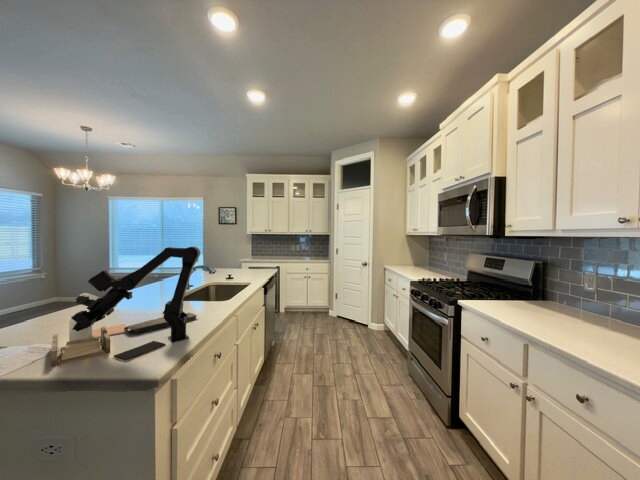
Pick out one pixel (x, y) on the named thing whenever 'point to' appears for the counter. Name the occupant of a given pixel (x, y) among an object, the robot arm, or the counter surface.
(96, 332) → the tile
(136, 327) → the stone slab
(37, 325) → the counter surface
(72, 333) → the can
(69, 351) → the rack
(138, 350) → the smartphone
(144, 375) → the counter surface
